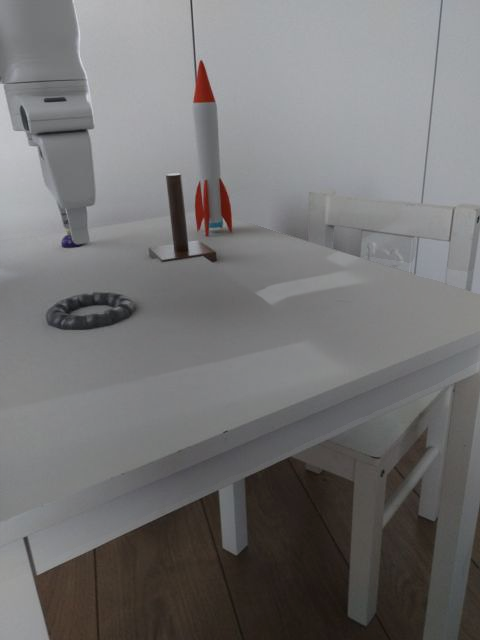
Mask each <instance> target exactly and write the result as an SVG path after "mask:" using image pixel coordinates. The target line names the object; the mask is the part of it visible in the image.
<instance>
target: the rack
mask: <svg viewBox="0 0 480 640" xmlns="http://www.w3.org/2000/svg"><path fill="white" fill-rule="evenodd" d="M182 178H183V177H182V174H181V173H179V172H177V173H176V172H175V173H168V174H165V181H166V189H167V198H168V199H167V200H168V208H169V217H170V227H171V234H172V243H171V244H164V245H157V246H150V247H148V256H149V257H150V258H151V259H152V260H156V259H158V260H159V261H160V262H161V263H166V262H167V263H168V262H172V261H173V262H174V261H179V260H186V259H193V258H199V257H204V258H205V259H206V260H208V261H209V262H216V261H218V259H217V251H216V250H215V249H213V248H211V247H210V246H208V245H206V243H203V242H202V241H200V240H199V239H198V240H191V241H189V238H188V230H187V228H188V227H187V218H186V209H185V199H184V188H183V179H182Z"/></svg>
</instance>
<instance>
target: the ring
mask: <svg viewBox="0 0 480 640" xmlns="http://www.w3.org/2000/svg"><path fill="white" fill-rule="evenodd" d="M92 306H106V307H109V309H107V310H105V311H101V312H96V313H91V314H71V313H72V312H74V311H76V310H80V309H83V308H87V307H92ZM110 307H111V308H110ZM136 310H137V308H136V304H134V301H132V299H131V298H130V296H128V295H126V294H121V293H117V292H112V291H104V292H103V291H99V292H98V291H96V292H95V291H94V292H88V293H81V294H76V295H72V296H70V297H66V298H64V299H62V300H59V301H57V302H56V303H55V304H54V305H52V306H51V307H49V309H47V311H46V313H45V319H46V323H47V325H48V326H49V327H52V328H55V329H59V330H62V331H88V330H93V329H98V328H104V327H108V326H112V325H115V324H118V323H119V322H122V321H124V320H127V319H129V318H130V317H131V316H132V315H133V314H134V312H136Z"/></svg>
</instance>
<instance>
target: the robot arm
mask: <svg viewBox="0 0 480 640" xmlns="http://www.w3.org/2000/svg"><path fill="white" fill-rule="evenodd" d="M80 47H81V30H80V24H79V18H78V14H77V8H76V3H75V0H0V85H3V90H4V95H5V99H6V104H7V108H8V112H9V118H10V121H11V126H12V130H13V131H15V132H24V133H25V135H26V138H27V143H28V146H30V147H36V148H37V153H38V158H39V165H40V168H41V169H40V170H41V173H42V174H41V175H42V179H43V182H44V184H45V185H44V186H45V187H46V188H47V189H48V191H49V192H50V194H51V195H52V197H53V198H54V199H55V201H56V204H57V208H58V211H59V214H60V220H61V224H62V226H63V228H65V230H66V229H70V232H71V237H72V240H73V242H74V243H75V244H77V245H78V244H83V245H85V244H88V243H89V242H90V234H89V228H88V209H87V207H92V206H94V205H95V203H96V196H97V193H96V191H97V188H96V177H95V176H96V175H95V166H94V165H95V164H94V153H93V146H92V145H93V144H92V139H91V133H90V131H89V130H94V129H95V125H96V121H95V114H94V109H93V103H92V97H91V90H90V85H89V78H88V74H87V72H86V70H85V67H84V64H83V62H82V59H81V52H80V51H81V50H80V49H81V48H80Z"/></svg>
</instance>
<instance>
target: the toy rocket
mask: <svg viewBox="0 0 480 640" xmlns="http://www.w3.org/2000/svg"><path fill="white" fill-rule="evenodd" d="M198 62H199V63H198V67H197V73H196V82H195V88H194V94H193V101H192V116H193V126H194V135H195V144H196V154H197V155H196V156H197V163H198V172H199V181H198V185H197V187H196V192H195V196H194V213H195V216H194V217H195V222H196V231H197V232H199V231H200V230H201V228H202V223H203V221H204V223H203V224H204V232H205V233H204V234H205V237H208V236H209V234H210V233H209V232H210V229H217V228H220V229H223V226H224V222H225V224H226V226H227V229H228V232H230V233H233V217H232V216H233V215H232V206H231V202H230V196H229V194H228V191H227V188H226V186H225V184H224V182H223V180H222V178H221V175H222V174H221V161H220V160H221V159H220V158H221V157H220V139H219V138H220V136H219V119H218V105H217V101H216V99H215V95H214V92H213V89H212V86H211V83H210V80H209V75H208V73H207V69H206V66H205V64H204V61H203V60H202V59H200V60H199V61H198Z"/></svg>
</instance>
